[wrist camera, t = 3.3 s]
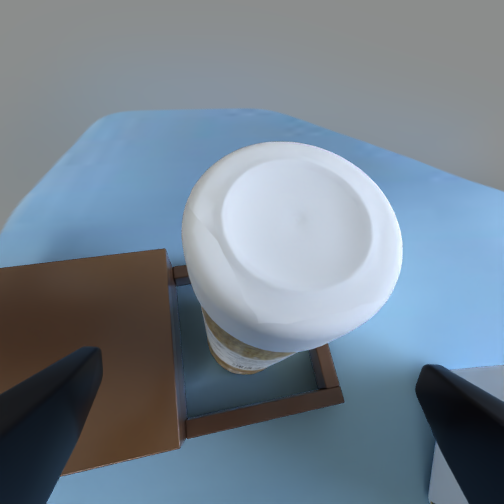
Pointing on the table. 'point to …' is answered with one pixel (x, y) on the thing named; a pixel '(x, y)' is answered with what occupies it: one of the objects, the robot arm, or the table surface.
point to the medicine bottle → (442, 480)
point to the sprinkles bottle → (287, 252)
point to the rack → (124, 353)
